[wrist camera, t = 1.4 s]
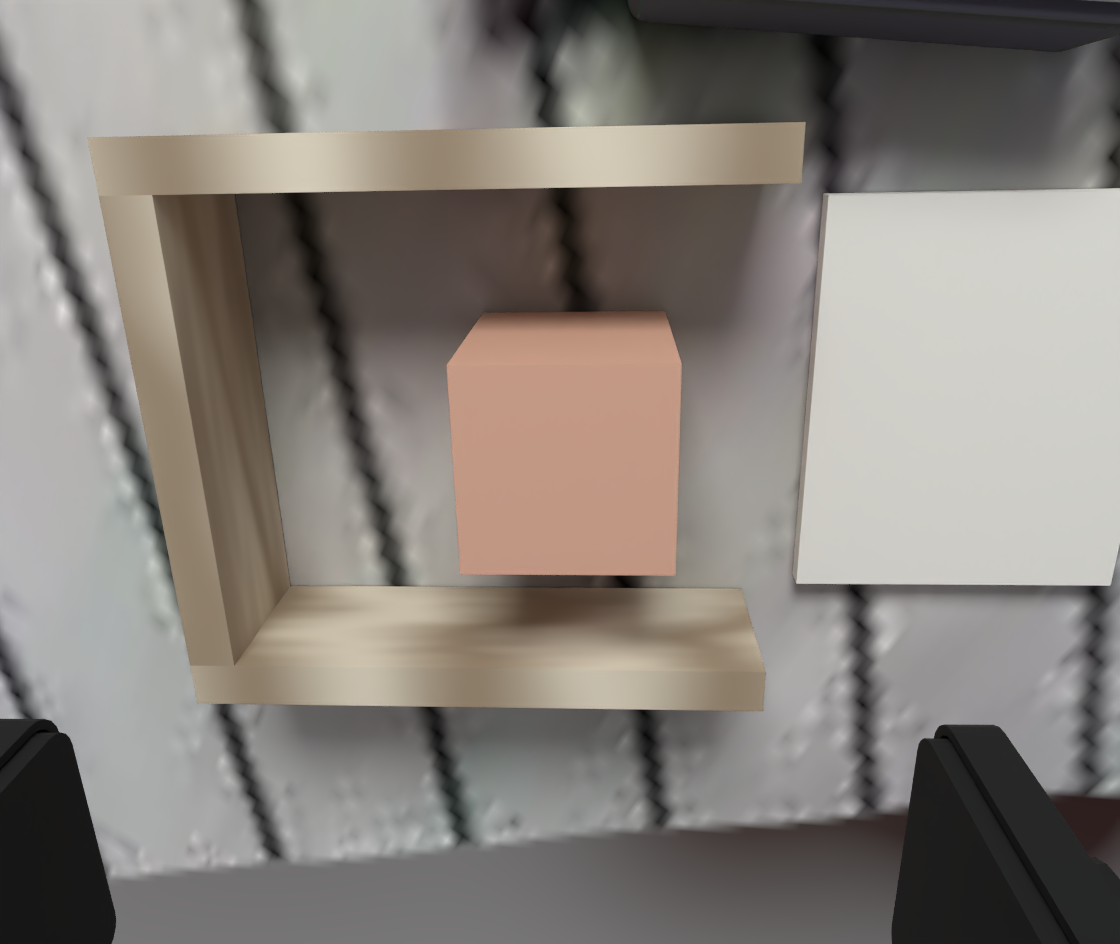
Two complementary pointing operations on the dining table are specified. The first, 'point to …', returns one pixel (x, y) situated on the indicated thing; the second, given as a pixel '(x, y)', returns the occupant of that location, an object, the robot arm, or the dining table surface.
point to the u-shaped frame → (246, 460)
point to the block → (566, 443)
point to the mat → (963, 390)
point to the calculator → (906, 19)
